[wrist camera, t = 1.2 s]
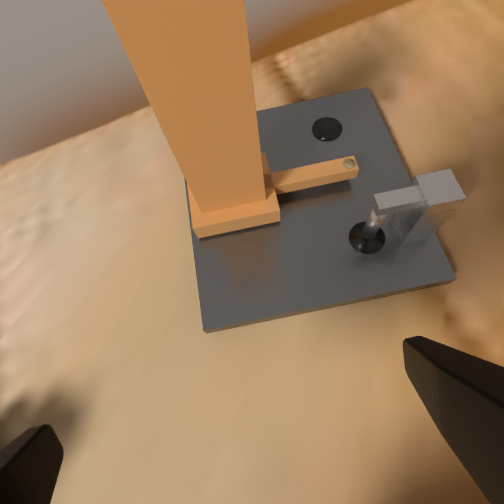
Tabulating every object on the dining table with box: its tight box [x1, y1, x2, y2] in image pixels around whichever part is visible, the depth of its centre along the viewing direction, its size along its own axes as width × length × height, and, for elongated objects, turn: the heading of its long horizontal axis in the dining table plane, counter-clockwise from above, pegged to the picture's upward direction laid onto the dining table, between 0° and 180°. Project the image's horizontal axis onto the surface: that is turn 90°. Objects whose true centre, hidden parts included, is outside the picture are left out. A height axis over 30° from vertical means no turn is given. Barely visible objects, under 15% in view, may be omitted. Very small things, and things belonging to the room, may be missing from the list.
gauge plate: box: [184, 87, 466, 333], centre depth 23 cm, size 18×16×6 cm
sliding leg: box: [102, 0, 359, 238], centre depth 17 cm, size 5×12×16 cm, turn 101°
